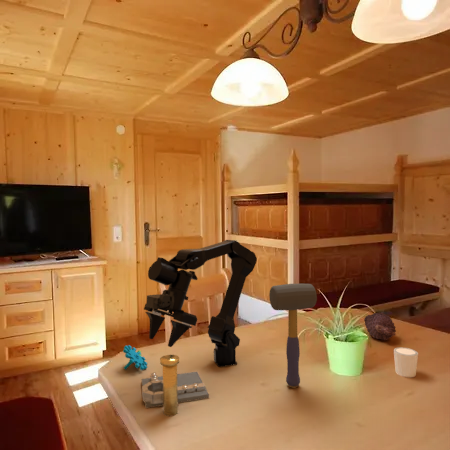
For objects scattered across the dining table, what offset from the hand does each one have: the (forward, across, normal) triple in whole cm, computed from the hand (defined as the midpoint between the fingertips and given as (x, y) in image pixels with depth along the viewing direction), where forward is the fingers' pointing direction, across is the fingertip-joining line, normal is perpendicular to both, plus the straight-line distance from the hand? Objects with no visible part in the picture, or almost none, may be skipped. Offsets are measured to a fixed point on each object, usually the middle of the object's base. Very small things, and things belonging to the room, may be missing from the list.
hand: (159, 342), depth 106 cm
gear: (+11, -18, +9) cm, 23 cm away
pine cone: (-24, +28, +82) cm, 90 cm away
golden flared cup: (+15, +12, +1) cm, 19 cm away
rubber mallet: (+1, +26, +31) cm, 41 cm away
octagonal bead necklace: (+11, +3, +7) cm, 13 cm away
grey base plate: (+11, +3, +8) cm, 14 cm away
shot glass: (-13, +46, +59) cm, 76 cm away
